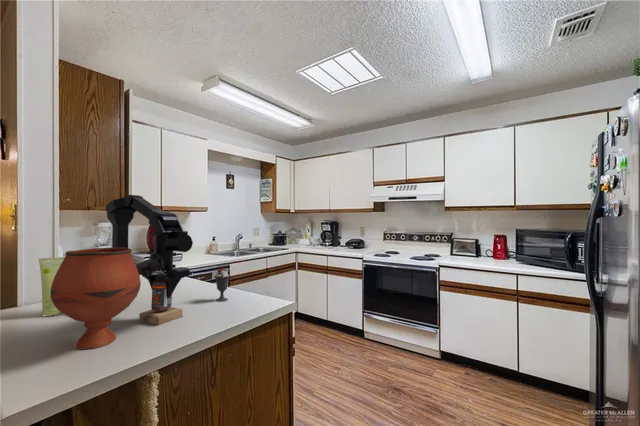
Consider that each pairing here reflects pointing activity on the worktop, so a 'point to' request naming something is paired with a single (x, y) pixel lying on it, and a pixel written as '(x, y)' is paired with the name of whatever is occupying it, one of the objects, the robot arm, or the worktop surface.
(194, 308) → the worktop surface
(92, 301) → the goblet
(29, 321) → the worktop surface
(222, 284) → the sundae
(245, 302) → the worktop surface
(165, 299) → the supplement bottle
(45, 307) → the tube
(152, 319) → the pedestal
